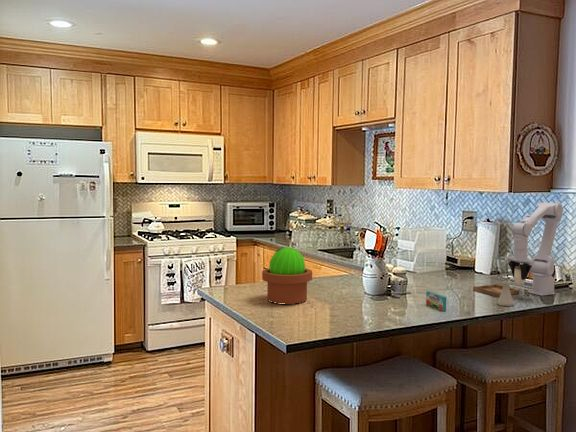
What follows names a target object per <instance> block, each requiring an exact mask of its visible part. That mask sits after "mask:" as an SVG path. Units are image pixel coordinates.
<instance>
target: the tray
mask: <svg viewBox="0 0 576 432" xmlns="http://www.w3.org/2000/svg"><path fill="white" fill-rule="evenodd" d="M509 288H510V293H511V296H515V295H520V289H517V288H513V287H509ZM502 289H503V285H501V284H488V285H487V284H486V285H478V286H477V285H476V286H473V292H477V293H481V294H484V295H487V296H491V297H495V298H499V297H500V295H501V292H502Z"/></svg>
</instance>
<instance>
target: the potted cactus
mask: <svg viewBox="0 0 576 432" xmlns="http://www.w3.org/2000/svg"><path fill="white" fill-rule="evenodd" d="M305 262H306V261H305V258H304V257H303V254H302V253H300V251H298V249H295V248H294V247H292V246H291V247H290V246H288V247H287V246H286V247H285V246H283V247H279V248H278V249H277V250H275V251H274V253H272V256H271V259H270V260H269V266H268V267H269V268H264V270H262V271H261V278H262V281H264V282H267V284H266V285H267V286H266V287H267V289H266V290H267V292H266V293H267V301H268V300H270V301H272V302H276V303H285V304H295V303H300V304H302V303H301V302H303V303H305V302H306V301H308V300H307V299H308V282H311V281H313V270H311V269H309V268H306V263H305ZM304 301H305V302H304ZM295 305H296V304H295Z"/></svg>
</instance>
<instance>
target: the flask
mask: <svg viewBox="0 0 576 432" xmlns="http://www.w3.org/2000/svg"><path fill="white" fill-rule="evenodd" d="M510 284H511V282H510V281H502V286H503V289H502V292H501V295H500V297H498V300H497V302H496V304H497V305H498V306H504V307H514V306H515V302H514V299H513V295H511V293H510V288H511V287H510Z"/></svg>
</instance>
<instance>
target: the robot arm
mask: <svg viewBox="0 0 576 432" xmlns="http://www.w3.org/2000/svg"><path fill="white" fill-rule="evenodd" d="M563 213H564V208H563V205H562V204H561V203H560V202H543V201H541V202H539V203H538V204H537V205H536V209H535V210H534V212H533V213H532V214H526V216H525V217H523V219H522V220H520V221H519V222H515V223H514V224H513V225H512V226H511V235H512V238H513V256H511V255H510V256H509V255H508V256H506V259H505V260H506V261H507V265H508V266H509V269H510V271H511V275H512V277H513V279H514V269H515V266H520V268H521V279H522V280H525V281H526V280H527V277H528V275H529V272H530V274H531V275H532V286H531V287H532V289H531V290H528V291H527V292H528V293H530V294H534V295H537V296H549V295H556V294H557V293H556V292H555V278H554V277H553V274H554V271H555V260H554V258H552V257H551V255H552V254H551V253H552V249H553V245H554V242H555V241H554V240H555V237H556V232H557V228H558V224H559V223H560V222H561V221H562V216H563ZM540 219H541V221H544V223H545V225H544V229H543V233H542V236H541V242H540V245H539V250H538V253H537V254H536V255H533V256H532V258H531V259H529V258H528V242H529V241H528V240H529V236H530V235H531V232H532V230H533V228H534V227H536V226H537V225H538V224H539V223H538V221H539V220H540Z"/></svg>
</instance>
